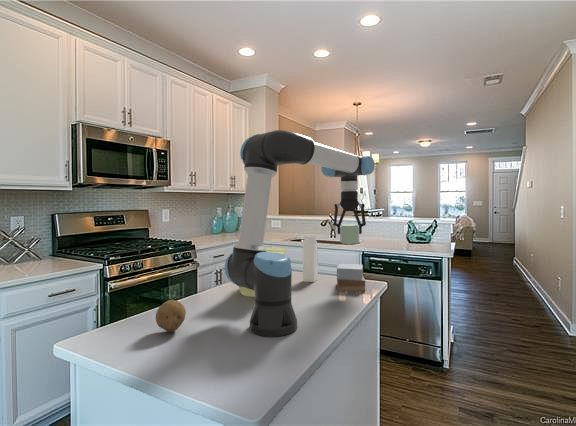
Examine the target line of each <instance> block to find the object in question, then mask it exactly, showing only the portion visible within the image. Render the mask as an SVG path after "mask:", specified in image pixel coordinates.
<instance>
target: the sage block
mask: <svg viewBox="0 0 576 426" xmlns="http://www.w3.org/2000/svg"><path fill="white" fill-rule="evenodd" d="M340 227H342V242H341V244H346V245H347V244H357V245H358V244H359V242H358V227H359V225H358V223H357V224H349V223H348V224H343V223H341V226H340Z"/></svg>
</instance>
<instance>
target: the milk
mask: <svg viewBox="0 0 576 426" xmlns="http://www.w3.org/2000/svg"><path fill="white" fill-rule="evenodd" d="M318 274H319V273H318V241H317V237H316V236H304V238H303V242H302V282H304V283H305V282H307V283H308V282H309V283H315V282H316V281H317V280H318Z"/></svg>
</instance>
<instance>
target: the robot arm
mask: <svg viewBox="0 0 576 426" xmlns="http://www.w3.org/2000/svg"><path fill="white" fill-rule="evenodd" d="M239 155H240V159H241V161H242V163H243V165H244V167H243V168H244V169H243V170H244V171H245V172H246V174H247V178H246V185H245V190H244V191H245V192H244V193H245V194H244V199H243V200H244V201H243V207H242V216H241V222H240V229H239V236H238V237H239V238H238V242H237V243H236V244H234V245H233V247H232V252H231V253H230V254H229V256H227V258H226V259H225V262H224V274H225V276H226V278H227V279H228V281H230V282H231V283H232V284H233V285H236V286H238V287H239V286H240V287H245V288H248V289H251V290H254V291H255V297H254V306H253V309H252V312H251V316H250V319H249V331H250V332H251V333H253V334H255V335H257V336H261V337H262V336H263V337H281V336H287V335H290V334H292V333H294V332H295V331H297V328H298V319H297V315H296V314H295V311H294V307H293V304H292V303H293V302H292V277H293V276H292V273H293V271H292V270H293V269H292V263H291V259H290V257H289V256H287V255H286V254H281V253H276V252H275V253H273V252H267V250H266V249H265V247H266V246H265V245H264V242H265V241H264V240H265V233H266V224H267V219H268V218H267V217H268V216H267V215H268V209H269V201H270V193H271V188H272V179H273V177H275V176H276V175H277V173H278V167H279V166H283V165H289V164H293V165H294V164H298V165H303V166H305V165H307V164H311V165H315V166H319V167H321V168H320V169H321V172H322V174H323V176H325V177H329V178H340V190H341V192H340V202H339V203H335V204H334V216H333V217H334V218H333V226H335V227H336V228H337V235H339V241H340V242H341V243H342V227H341V224H343V220H344V217H345V215H346V213H347V212H353V214H354V217H355V220H356V222H357V225H358V243H359V242H360V235H361V234H362V232H363V231H362V230H363V229H362V228H363V227H364V226H367V224H366V223H367V222H366V215H365V214H366V213H365V203H360V202H359V198H358V197H359V192H358V191H357V190H358V189H359V187H358V186H359V183H358V181H359V180H358V176H367V175H368V176H369V175H371V174H373V172H374V171H375V160H374V158H373V157H372V156H371V155H362V156H360V155H356V154H353V153H350V152H347V151H345V150H344V151H343V150H340V149H338V148H333V147H331V146H328V145H324V144H322V143H320V142H319V143H318V142H315V141H314V140H313V138H311V137H309V136H306V135H303V134H299V133H297V132H293V131H289V130H284V129H277V130H275V129H274V130H272V131H267V132H264V133H257V134H254V135H251V136H249V137H247V138H246V139H245V140H244V141H243V143H242V145H241V147H240V152H239ZM358 206H359V208H360V214H361V220H360V217H359V214H358V212H357V210H356V209H357V208H358ZM340 207H341V208H342V212H341V215H340V217H339V220H338V212H339V209H340ZM337 220H338V222H337Z"/></svg>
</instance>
